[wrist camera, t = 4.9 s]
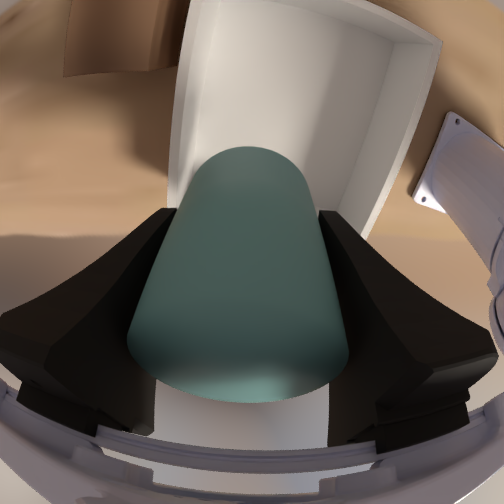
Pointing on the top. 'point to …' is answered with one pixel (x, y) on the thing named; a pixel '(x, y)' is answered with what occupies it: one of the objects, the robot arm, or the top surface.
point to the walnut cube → (123, 35)
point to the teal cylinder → (242, 287)
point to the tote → (303, 94)
